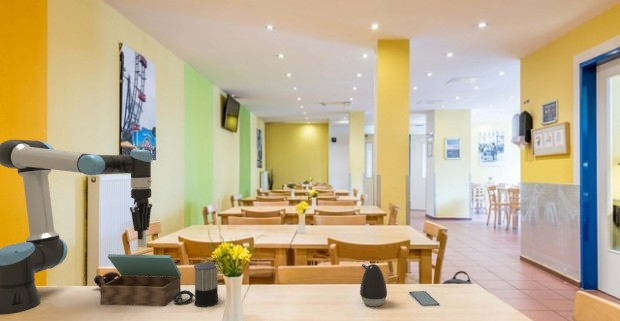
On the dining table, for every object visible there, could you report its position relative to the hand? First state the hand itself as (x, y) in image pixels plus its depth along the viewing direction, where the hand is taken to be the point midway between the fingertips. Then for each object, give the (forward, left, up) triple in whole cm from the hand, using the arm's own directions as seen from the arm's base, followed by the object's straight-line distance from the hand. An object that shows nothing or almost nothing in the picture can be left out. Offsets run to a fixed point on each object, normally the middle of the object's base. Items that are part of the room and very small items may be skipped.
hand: (141, 246), depth 159 cm
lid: (0, +2, -9) cm, 9 cm away
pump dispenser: (+92, +2, -21) cm, 94 cm away
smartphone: (+112, +9, -22) cm, 114 cm away
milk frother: (+23, -2, -21) cm, 32 cm away
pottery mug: (-22, +11, -21) cm, 32 cm away
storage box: (0, 0, -21) cm, 21 cm away
